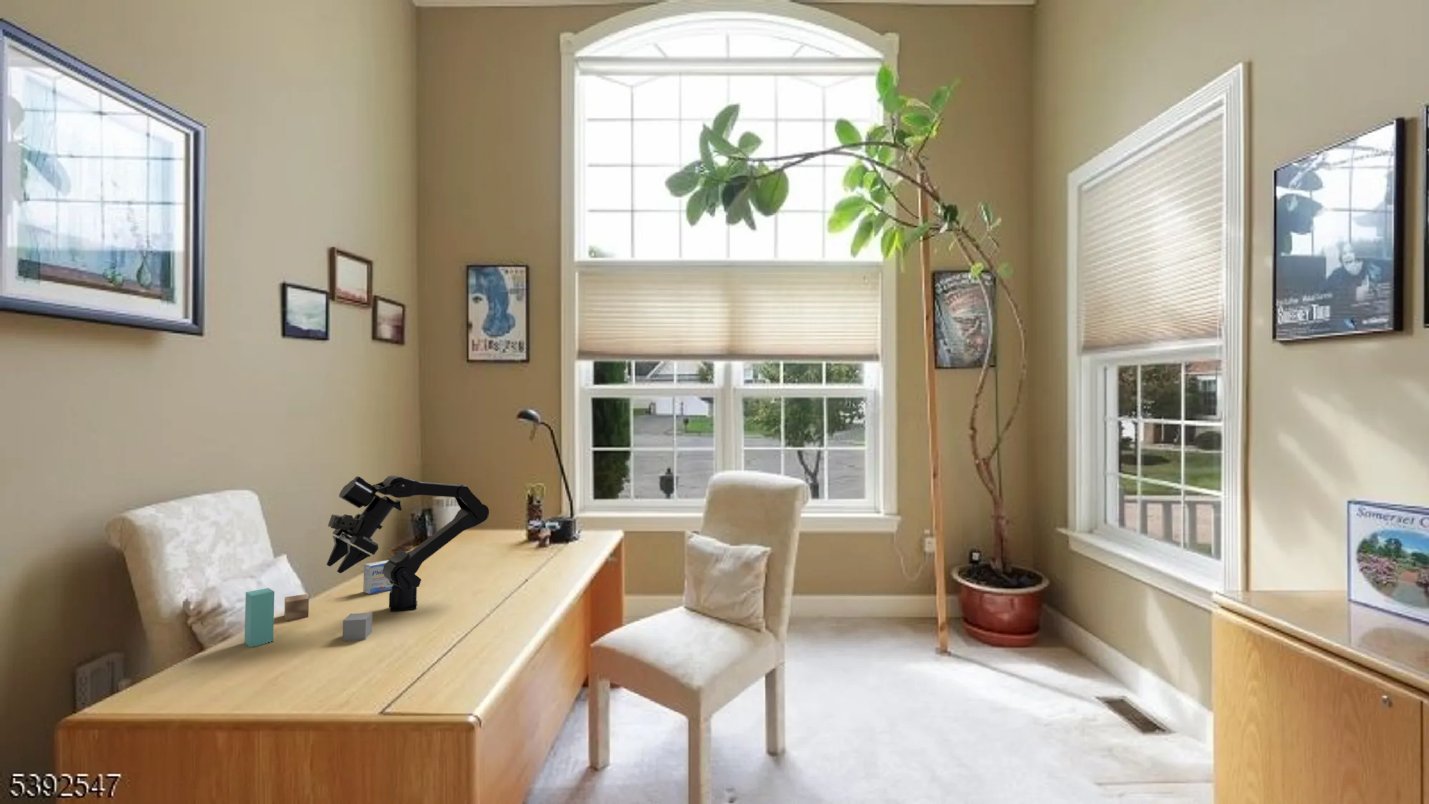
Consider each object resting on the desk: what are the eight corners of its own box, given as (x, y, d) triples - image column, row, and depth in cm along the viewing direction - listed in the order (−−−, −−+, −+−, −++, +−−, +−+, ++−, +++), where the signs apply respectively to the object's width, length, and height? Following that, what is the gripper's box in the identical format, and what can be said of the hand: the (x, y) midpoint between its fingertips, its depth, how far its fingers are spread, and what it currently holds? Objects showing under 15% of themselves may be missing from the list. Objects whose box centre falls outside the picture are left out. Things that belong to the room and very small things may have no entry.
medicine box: (369, 595, 183) (370, 566, 183) (362, 592, 185) (363, 563, 185) (396, 589, 189) (396, 561, 189) (389, 586, 192) (390, 558, 192)
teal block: (267, 637, 149) (268, 587, 149) (273, 641, 146) (274, 591, 146) (244, 642, 145) (245, 592, 145) (250, 647, 142) (251, 595, 142)
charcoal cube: (371, 632, 153) (372, 612, 153) (365, 639, 148) (365, 619, 148) (349, 633, 152) (350, 613, 152) (342, 641, 147) (343, 620, 147)
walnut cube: (306, 612, 167) (307, 593, 167) (308, 617, 163) (308, 598, 163) (284, 615, 164) (284, 597, 164) (285, 621, 160) (286, 602, 160)
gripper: (336, 497, 168) (295, 548, 161) (358, 505, 155) (314, 561, 148) (371, 517, 174) (333, 567, 167) (395, 527, 161) (355, 581, 155)
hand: (333, 569), depth 159 cm, fingers open, 9 cm apart
